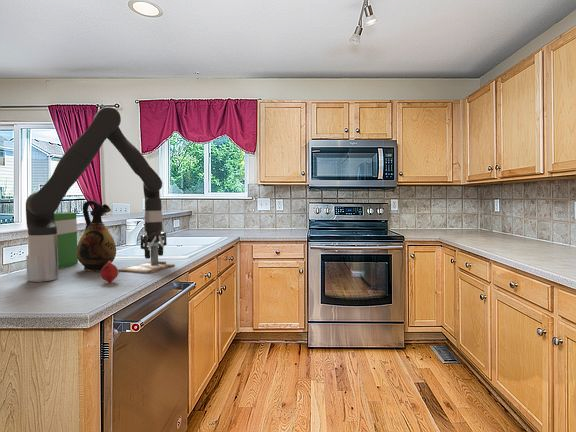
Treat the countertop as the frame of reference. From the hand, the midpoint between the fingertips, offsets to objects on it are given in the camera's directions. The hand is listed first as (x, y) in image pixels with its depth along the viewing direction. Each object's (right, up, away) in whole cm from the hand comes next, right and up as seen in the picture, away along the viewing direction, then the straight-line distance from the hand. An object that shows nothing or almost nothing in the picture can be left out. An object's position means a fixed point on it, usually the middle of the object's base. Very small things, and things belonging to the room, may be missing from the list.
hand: (154, 256), depth 171 cm
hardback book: (-44, -5, +1) cm, 44 cm away
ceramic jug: (-23, -5, -5) cm, 25 cm away
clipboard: (-2, -5, -4) cm, 6 cm away
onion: (-5, -6, -31) cm, 32 cm away
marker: (0, -3, 0) cm, 3 cm away
